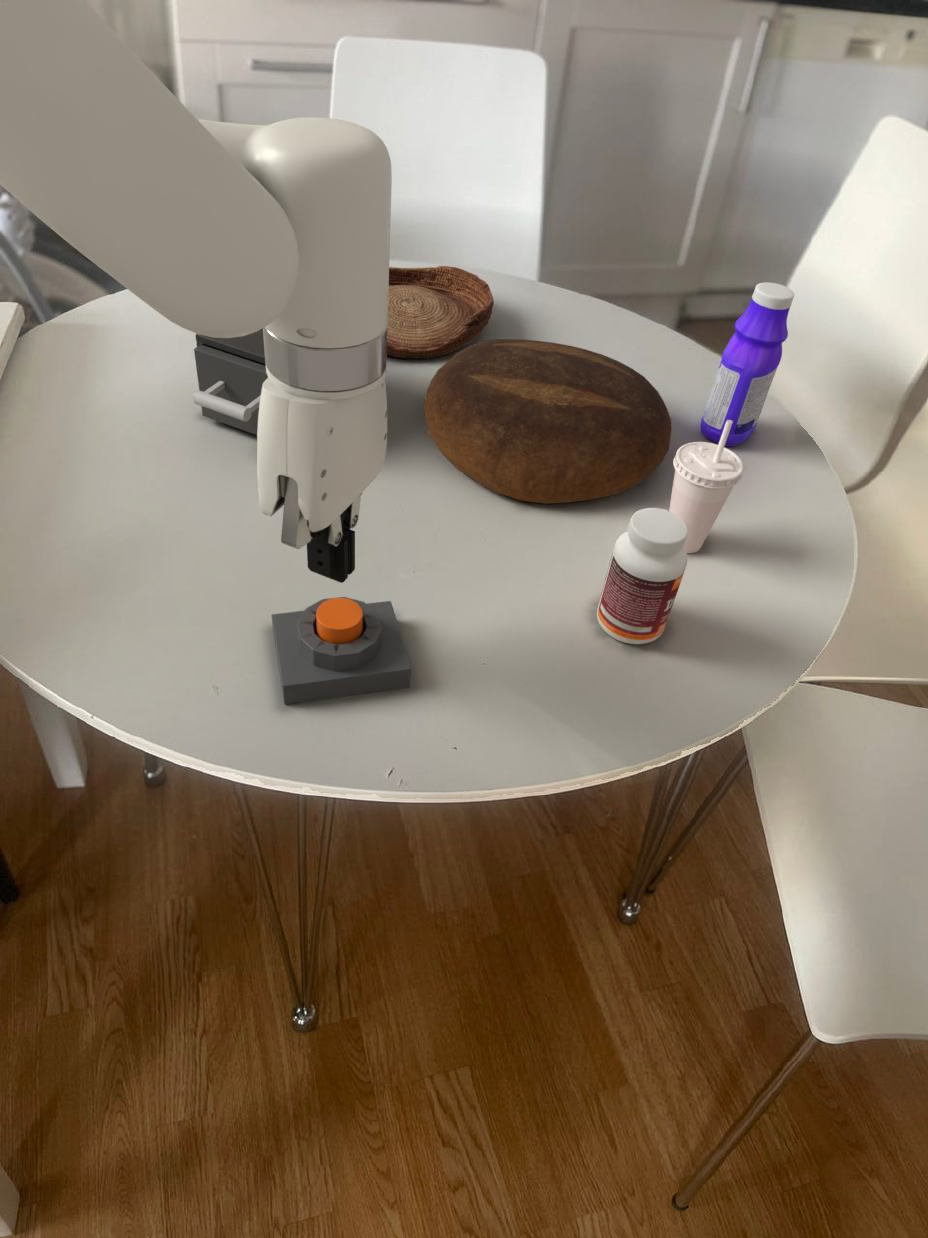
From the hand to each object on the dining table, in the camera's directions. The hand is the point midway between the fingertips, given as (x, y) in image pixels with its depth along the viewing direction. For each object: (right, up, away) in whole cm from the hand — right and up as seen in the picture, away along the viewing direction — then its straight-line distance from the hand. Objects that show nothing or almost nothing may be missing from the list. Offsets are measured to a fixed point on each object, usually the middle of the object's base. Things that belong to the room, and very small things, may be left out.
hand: (331, 570), depth 67 cm
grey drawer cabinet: (-9, +21, +33) cm, 40 cm away
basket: (+2, +35, +49) cm, 60 cm away
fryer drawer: (-11, +19, +29) cm, 37 cm away
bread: (+19, +17, +33) cm, 41 cm away
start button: (0, -5, +3) cm, 5 cm away
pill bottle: (+25, -4, +12) cm, 28 cm away
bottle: (+41, +18, +37) cm, 58 cm away
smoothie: (+32, +4, +21) cm, 38 cm away
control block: (0, -7, +5) cm, 9 cm away
